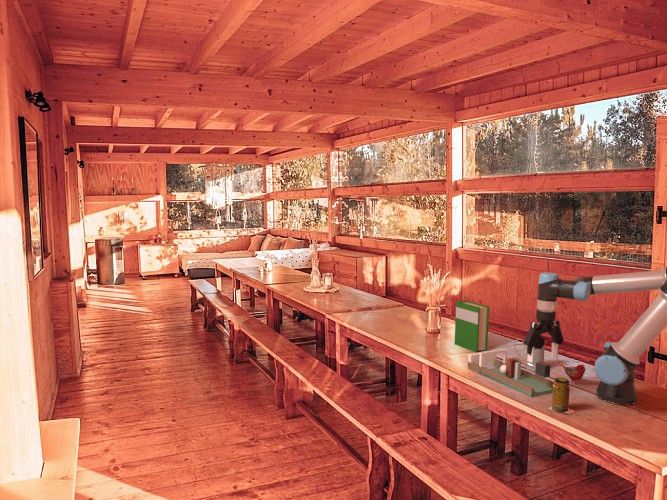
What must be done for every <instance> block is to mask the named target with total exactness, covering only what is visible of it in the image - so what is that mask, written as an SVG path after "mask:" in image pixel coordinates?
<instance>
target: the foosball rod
mask: <svg viewBox="0 0 667 500" xmlns="http://www.w3.org/2000/svg"><path fill="white" fill-rule="evenodd" d="M524 360H525V359H524ZM524 360H523V359H522V358H521V357H517V356H516V357H507V359H506V376H507V377H514V376H515V363H516V362H519V363H521V364H522V365H524V366H526V365H527V366H529V367H532V368H535V369H536V370H535V371H534V372H535V373H534V374H535V375H538V376H540V377H543V378H545V379H547V378H550V377H551V364H549V363H546V362H544V363H543V362H536V365H535V364H532V363H529V362H527V361H526V360H525V361H524Z"/></svg>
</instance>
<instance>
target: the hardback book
mask: <svg viewBox="0 0 667 500" xmlns="http://www.w3.org/2000/svg"><path fill="white" fill-rule="evenodd" d="M489 321H490V306H489V305H485V304H482V303H477V302H475V301H470V300H459V301H458V300H457V301H456V303H455V326H454V344H453V345H456V346H457V347H458V346H459V347H461V348H463V349H467V350H468V351H471V352H474V353H479V351H483V352H487V351H488V342H489V341H488V340H489Z"/></svg>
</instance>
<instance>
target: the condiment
mask: <svg viewBox="0 0 667 500" xmlns="http://www.w3.org/2000/svg"><path fill="white" fill-rule="evenodd" d="M553 382H554V385H553V393H551V395H552V396H551V397H552V398H551V406H550V407H548V408H547V410H550V411H554V412H557V413H561V414H565V415H569V416H571V415H570V414H569V413H562V412H566V411H568V408H570V407H569V406H570V405H569V404H570V390H571V389H570V388H571V387H570V380H569V379H568V378H565V377H558V376H557V377H555V378H554V380H553Z"/></svg>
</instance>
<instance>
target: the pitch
mask: <svg viewBox="0 0 667 500" xmlns="http://www.w3.org/2000/svg"><path fill="white" fill-rule="evenodd" d="M500 353H502V360H500V359H498V358H497V354H500ZM507 358H508V349H506V348H503V349H497V350H495V349H494V350H489V351H488V350H487V351H482V352H481V351H480V352H477V353H476V352H474V353H468V354H467V369H468V370H470V371H472V372H475V373H476V374H479V375H480V376H481V375H482V376H484V377H486V378H488V379H491V380H492V381H495V382H497V383H499V384H500V385H501V384H502V385H503V386H506V387H508V388H509V389H512V390H515V391H517V392H519V393H522V394H524V395H526V396H528V397H531V398H533V397H538V396H543V395H544V396H545V395H550V394H553V385H554V380H553V381H552V380H550V379H548V378H544V377H541V376H539V375H536V374H535V373H533V372H530V371H528V370H524V369H523V368H521V366H522V365H521V363H519V362H516V363H515V376H514V377H507V376H506V374H503V373H501V371H500V367H501V366H502V365H506V359H507ZM490 367H491V368H490ZM493 367H494V368H493Z"/></svg>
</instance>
